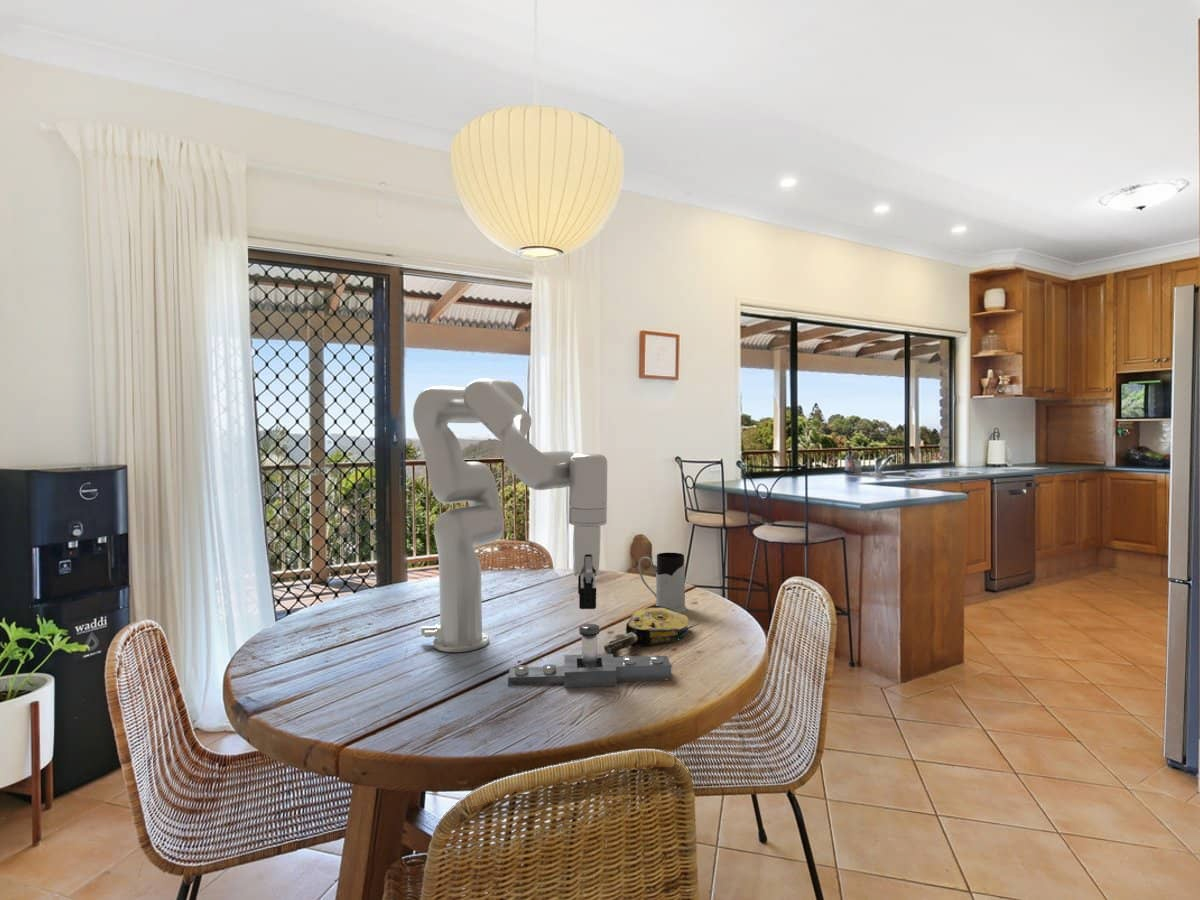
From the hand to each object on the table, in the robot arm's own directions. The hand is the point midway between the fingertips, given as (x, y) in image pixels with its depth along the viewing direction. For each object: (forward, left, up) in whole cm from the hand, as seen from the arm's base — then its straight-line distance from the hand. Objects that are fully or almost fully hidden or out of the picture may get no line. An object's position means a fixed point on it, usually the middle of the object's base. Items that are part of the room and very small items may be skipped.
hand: (586, 601), depth 122 cm
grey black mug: (+22, +47, -16) cm, 54 cm away
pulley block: (+15, +21, -16) cm, 30 cm away
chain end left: (-5, 0, -15) cm, 16 cm away
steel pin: (0, 0, -15) cm, 15 cm away
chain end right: (+6, 0, -15) cm, 16 cm away
